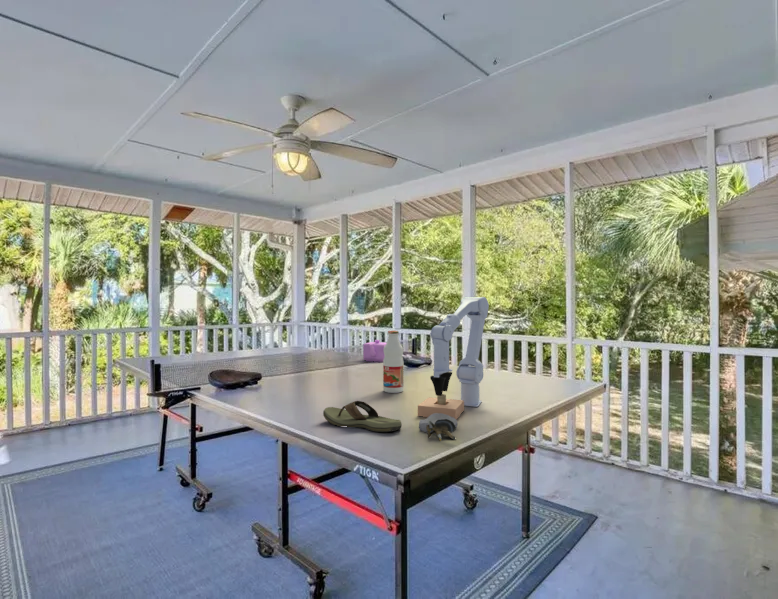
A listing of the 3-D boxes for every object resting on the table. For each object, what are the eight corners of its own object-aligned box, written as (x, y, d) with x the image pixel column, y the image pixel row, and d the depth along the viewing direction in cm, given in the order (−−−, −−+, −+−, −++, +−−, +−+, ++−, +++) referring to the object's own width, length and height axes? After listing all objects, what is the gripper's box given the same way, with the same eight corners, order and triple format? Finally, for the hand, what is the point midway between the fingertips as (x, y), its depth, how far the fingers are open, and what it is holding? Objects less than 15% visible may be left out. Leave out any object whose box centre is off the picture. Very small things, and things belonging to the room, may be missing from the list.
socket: (428, 407, 174) (428, 397, 174) (464, 410, 169) (464, 400, 169) (417, 416, 161) (417, 405, 161) (455, 420, 156) (455, 409, 156)
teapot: (359, 362, 289) (358, 341, 289) (373, 357, 313) (373, 338, 313) (380, 363, 284) (380, 342, 284) (393, 358, 308) (393, 338, 307)
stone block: (459, 432, 148) (434, 421, 154) (461, 419, 147) (436, 409, 153) (441, 443, 139) (415, 431, 145) (444, 429, 138) (417, 418, 144)
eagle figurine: (428, 440, 131) (457, 435, 131) (424, 417, 135) (452, 411, 135) (429, 446, 138) (457, 441, 138) (425, 424, 142) (453, 419, 141)
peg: (438, 412, 167) (438, 393, 167) (446, 412, 166) (446, 394, 166) (436, 414, 164) (436, 395, 164) (444, 415, 163) (444, 396, 163)
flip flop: (318, 424, 152) (318, 400, 152) (339, 416, 163) (338, 393, 163) (389, 438, 137) (389, 411, 137) (408, 428, 148) (408, 403, 147)
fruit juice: (407, 391, 203) (407, 331, 203) (392, 394, 197) (392, 332, 196) (393, 388, 210) (393, 329, 210) (379, 390, 204) (379, 330, 203)
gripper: (446, 360, 156) (447, 398, 157) (456, 355, 170) (456, 389, 170) (428, 359, 159) (428, 396, 159) (438, 354, 173) (438, 388, 173)
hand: (441, 393), depth 165 cm, fingers open, 7 cm apart
